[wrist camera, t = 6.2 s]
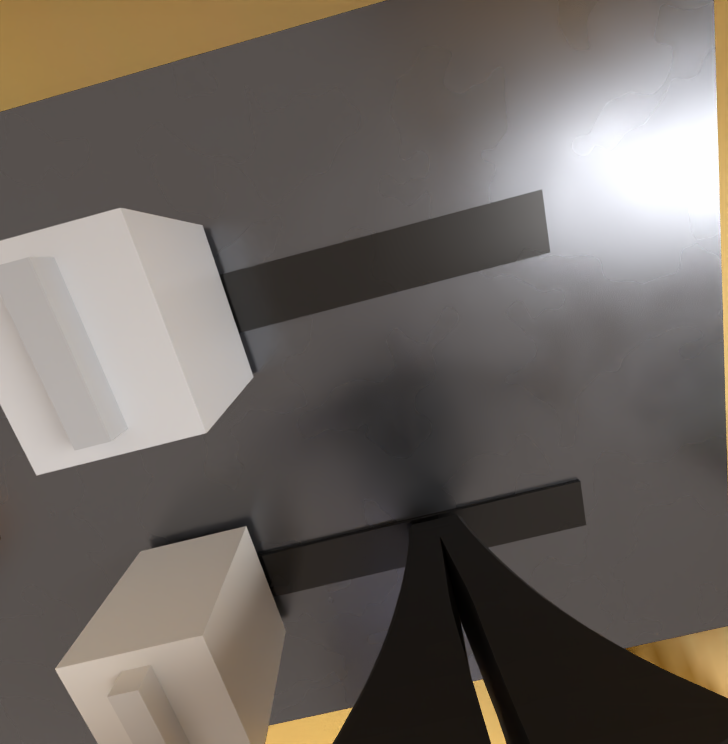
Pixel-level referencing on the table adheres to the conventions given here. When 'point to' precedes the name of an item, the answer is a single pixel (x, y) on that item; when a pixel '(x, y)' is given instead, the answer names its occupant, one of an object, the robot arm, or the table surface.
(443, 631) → the robot arm
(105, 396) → the slider
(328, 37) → the panel
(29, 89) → the table surface
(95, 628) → the slider
